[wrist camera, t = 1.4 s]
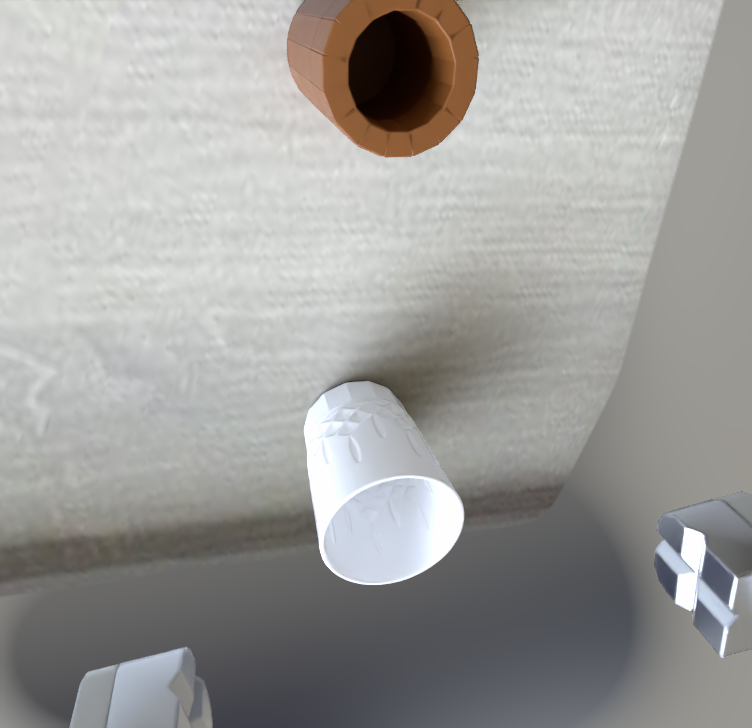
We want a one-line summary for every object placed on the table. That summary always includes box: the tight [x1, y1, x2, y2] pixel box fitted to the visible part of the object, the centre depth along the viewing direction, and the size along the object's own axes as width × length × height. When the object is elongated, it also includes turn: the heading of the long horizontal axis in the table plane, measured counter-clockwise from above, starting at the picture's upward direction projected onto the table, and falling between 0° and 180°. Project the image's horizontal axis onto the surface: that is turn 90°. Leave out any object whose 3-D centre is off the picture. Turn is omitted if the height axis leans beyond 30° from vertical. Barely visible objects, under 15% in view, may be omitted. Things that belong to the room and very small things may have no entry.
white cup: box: [304, 381, 464, 585], centre depth 36 cm, size 8×8×10 cm
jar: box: [287, 0, 479, 157], centre depth 25 cm, size 6×6×10 cm
